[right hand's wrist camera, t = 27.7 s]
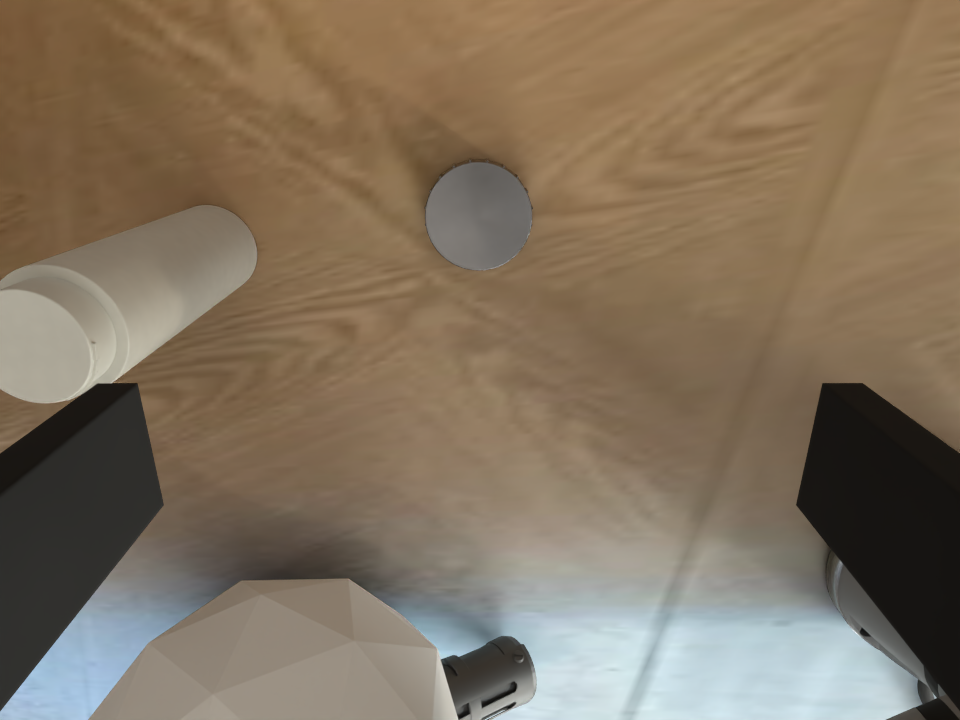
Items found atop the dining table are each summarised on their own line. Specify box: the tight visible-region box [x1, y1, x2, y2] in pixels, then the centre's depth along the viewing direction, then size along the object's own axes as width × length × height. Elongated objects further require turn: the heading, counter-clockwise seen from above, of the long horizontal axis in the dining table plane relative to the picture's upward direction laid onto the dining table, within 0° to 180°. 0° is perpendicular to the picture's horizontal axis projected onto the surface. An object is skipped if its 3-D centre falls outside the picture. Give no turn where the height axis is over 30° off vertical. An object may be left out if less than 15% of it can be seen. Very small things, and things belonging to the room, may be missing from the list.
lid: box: [425, 159, 533, 270], centre depth 37 cm, size 6×6×2 cm
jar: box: [0, 205, 257, 403], centre depth 31 cm, size 5×5×17 cm
